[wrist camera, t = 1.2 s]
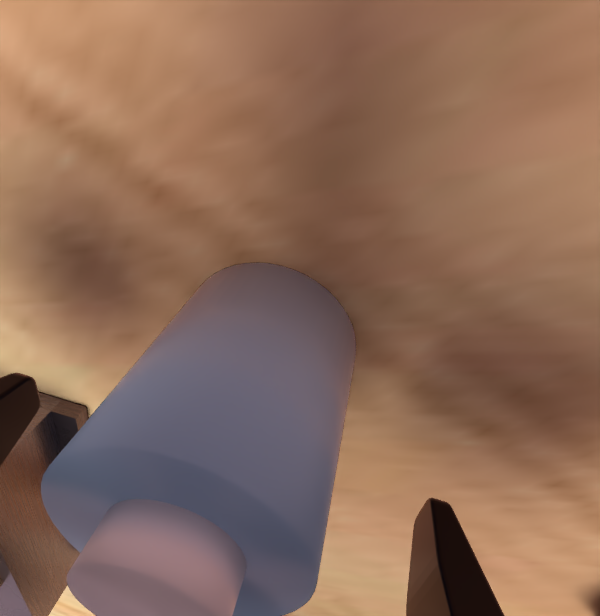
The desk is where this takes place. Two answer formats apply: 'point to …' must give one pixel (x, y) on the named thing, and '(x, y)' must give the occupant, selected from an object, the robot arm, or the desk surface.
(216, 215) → the desk surface
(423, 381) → the desk surface
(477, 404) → the desk surface
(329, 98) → the desk surface
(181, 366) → the light blue tapered cylinder
